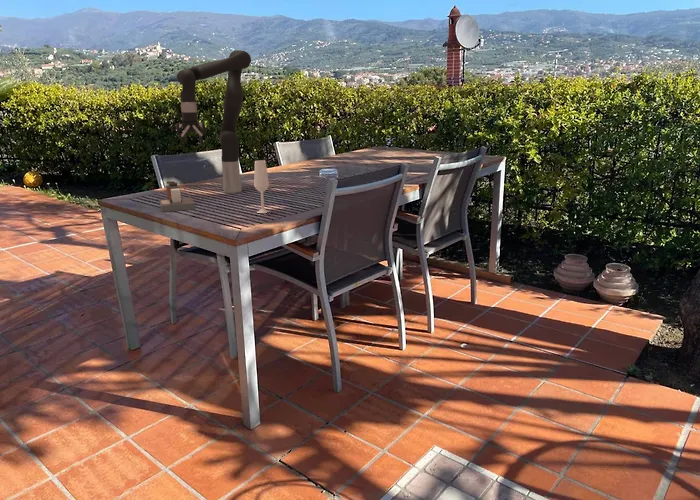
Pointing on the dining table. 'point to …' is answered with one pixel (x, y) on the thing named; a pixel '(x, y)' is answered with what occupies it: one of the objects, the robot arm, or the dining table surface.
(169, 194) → the lighter
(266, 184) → the champagne flute
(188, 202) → the slot holder
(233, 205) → the dining table surface
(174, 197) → the peg
